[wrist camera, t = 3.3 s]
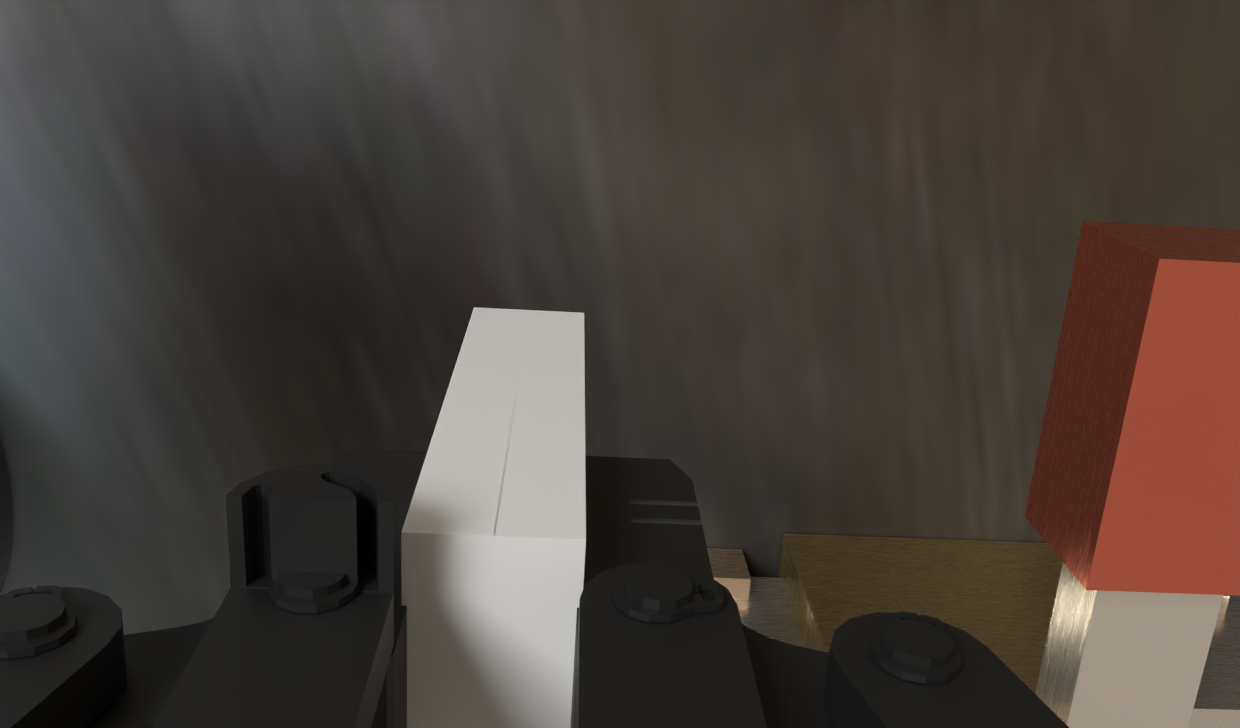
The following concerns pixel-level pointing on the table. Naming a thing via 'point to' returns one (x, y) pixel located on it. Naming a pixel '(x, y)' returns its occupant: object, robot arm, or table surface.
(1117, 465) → the valve lever
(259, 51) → the table surface
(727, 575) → the valve pipe
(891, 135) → the table surface
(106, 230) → the table surface
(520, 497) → the robot arm
